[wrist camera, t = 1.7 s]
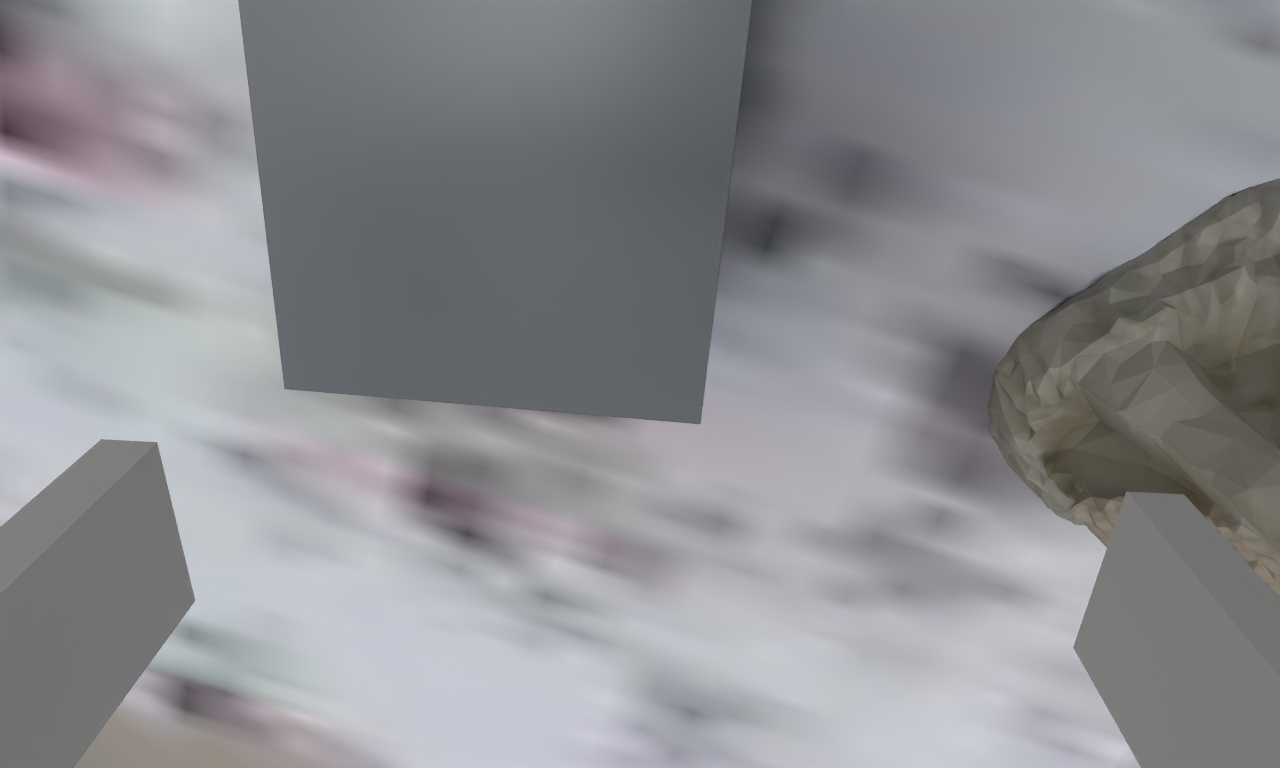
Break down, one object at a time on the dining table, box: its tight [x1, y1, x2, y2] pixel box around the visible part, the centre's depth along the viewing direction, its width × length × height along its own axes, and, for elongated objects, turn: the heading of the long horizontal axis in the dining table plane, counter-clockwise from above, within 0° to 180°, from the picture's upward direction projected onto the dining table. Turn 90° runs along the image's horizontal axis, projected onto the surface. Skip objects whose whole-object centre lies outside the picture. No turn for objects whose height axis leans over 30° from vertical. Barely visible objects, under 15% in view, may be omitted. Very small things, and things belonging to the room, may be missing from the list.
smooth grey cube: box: [238, 0, 752, 424], centre depth 23 cm, size 10×10×9 cm
